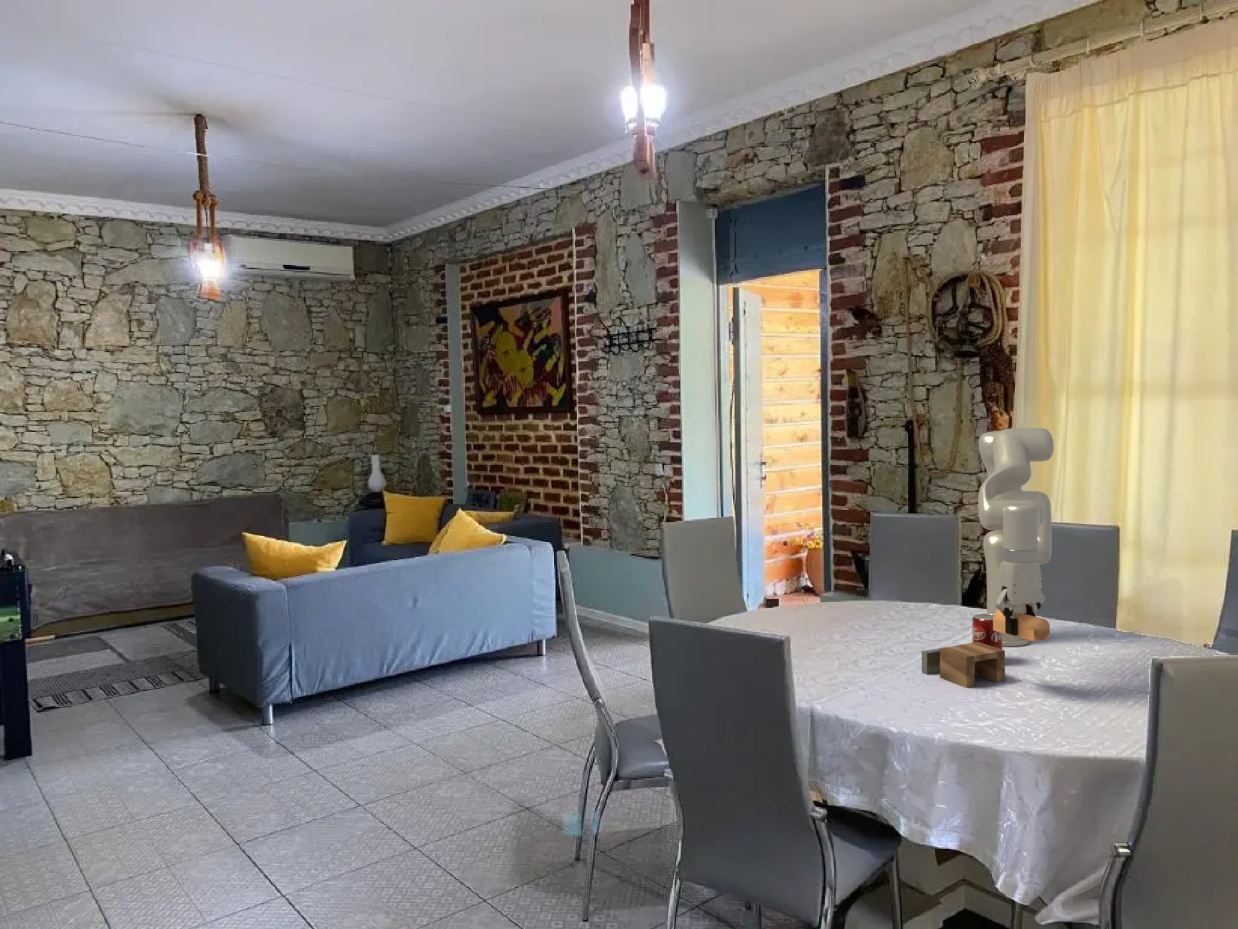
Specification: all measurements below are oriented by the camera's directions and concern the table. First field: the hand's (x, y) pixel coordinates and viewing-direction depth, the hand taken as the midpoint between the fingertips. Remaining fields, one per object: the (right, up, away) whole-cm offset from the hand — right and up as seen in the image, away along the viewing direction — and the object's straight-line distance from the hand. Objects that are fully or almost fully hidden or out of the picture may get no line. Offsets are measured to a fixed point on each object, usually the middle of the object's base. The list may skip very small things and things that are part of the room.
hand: (1020, 632), depth 215 cm
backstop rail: (-11, -13, +18) cm, 25 cm away
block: (-8, -13, +10) cm, 18 cm away
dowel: (0, -1, 0) cm, 1 cm away
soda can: (+2, -12, +24) cm, 27 cm away
